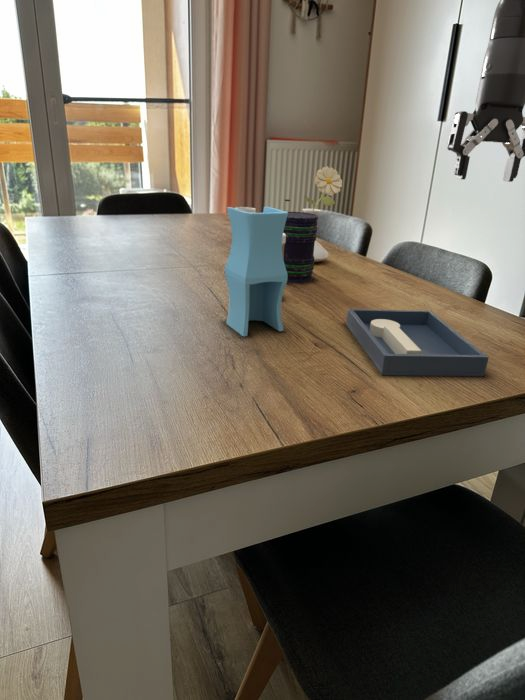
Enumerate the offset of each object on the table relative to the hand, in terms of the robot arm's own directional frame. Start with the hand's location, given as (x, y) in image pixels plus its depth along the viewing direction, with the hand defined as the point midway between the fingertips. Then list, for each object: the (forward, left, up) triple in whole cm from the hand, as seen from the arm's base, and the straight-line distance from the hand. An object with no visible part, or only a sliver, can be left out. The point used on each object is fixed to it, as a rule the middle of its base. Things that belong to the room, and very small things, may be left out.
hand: (484, 180), depth 88 cm
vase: (+39, +4, -26) cm, 47 cm away
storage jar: (+27, -31, -26) cm, 49 cm away
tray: (+14, +13, -26) cm, 32 cm away
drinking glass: (+36, -79, -26) cm, 91 cm away
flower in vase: (+19, -51, -26) cm, 60 cm away
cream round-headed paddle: (+17, +13, -26) cm, 33 cm away
